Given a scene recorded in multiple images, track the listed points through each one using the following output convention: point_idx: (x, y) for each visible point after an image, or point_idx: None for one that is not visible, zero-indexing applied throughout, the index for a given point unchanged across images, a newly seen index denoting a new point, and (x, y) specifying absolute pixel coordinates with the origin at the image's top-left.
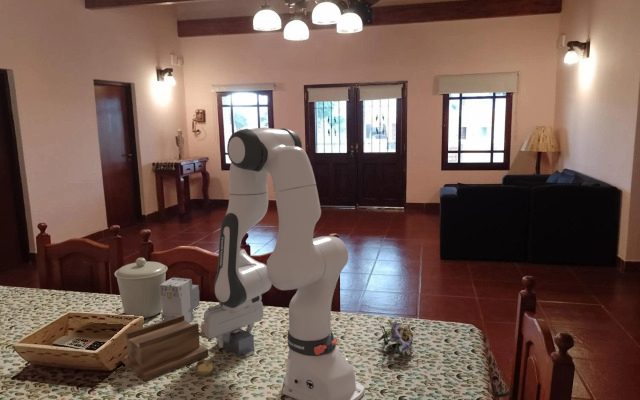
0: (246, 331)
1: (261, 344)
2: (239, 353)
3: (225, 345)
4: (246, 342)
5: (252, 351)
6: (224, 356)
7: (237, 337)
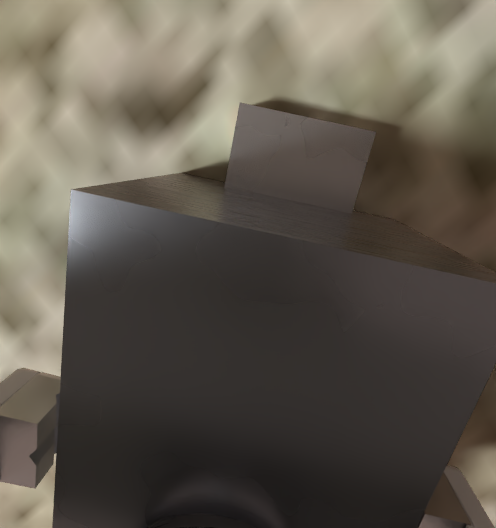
0: (8, 462)
1: (25, 199)
2: (401, 226)
3: None
4: (290, 220)
5: (256, 122)
6: None
7: (380, 422)
